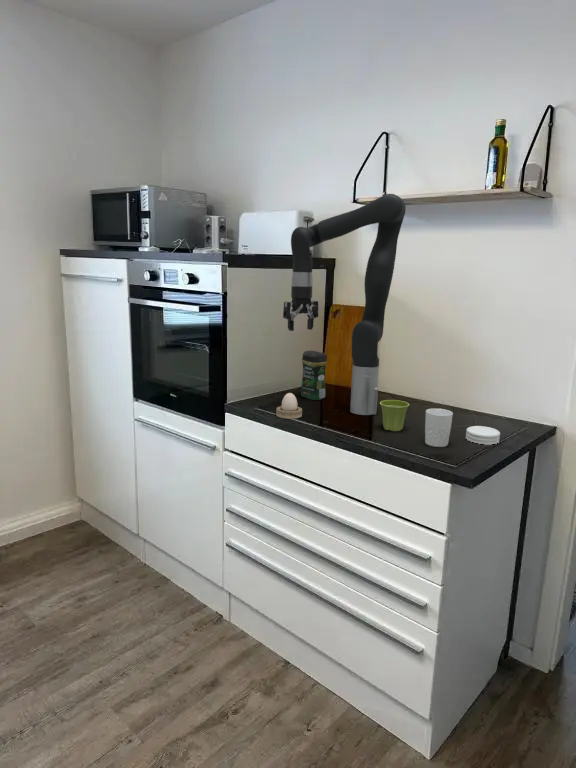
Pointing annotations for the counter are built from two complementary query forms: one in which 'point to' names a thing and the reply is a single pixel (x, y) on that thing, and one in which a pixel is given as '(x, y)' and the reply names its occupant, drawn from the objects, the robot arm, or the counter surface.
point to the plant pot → (393, 414)
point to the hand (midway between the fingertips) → (300, 330)
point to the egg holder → (289, 413)
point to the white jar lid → (482, 435)
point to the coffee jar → (313, 375)
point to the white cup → (437, 427)
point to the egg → (289, 403)
